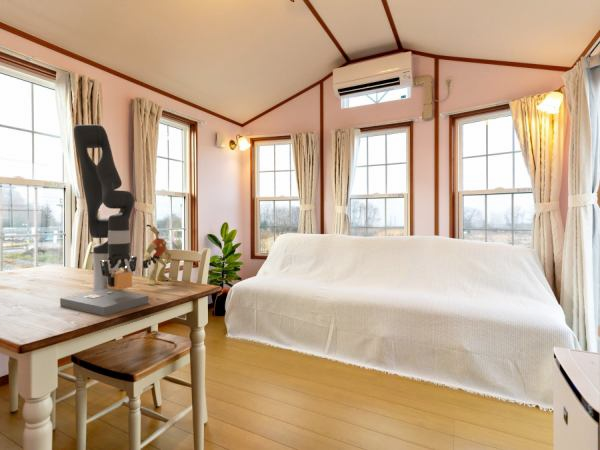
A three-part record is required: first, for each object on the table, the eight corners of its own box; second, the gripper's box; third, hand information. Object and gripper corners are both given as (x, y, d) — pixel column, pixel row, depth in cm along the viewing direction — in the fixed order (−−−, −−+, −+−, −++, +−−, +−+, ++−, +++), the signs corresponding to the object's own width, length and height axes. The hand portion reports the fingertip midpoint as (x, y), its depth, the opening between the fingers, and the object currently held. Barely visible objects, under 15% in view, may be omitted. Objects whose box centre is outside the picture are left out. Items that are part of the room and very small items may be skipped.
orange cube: (121, 285, 129) (121, 270, 129) (131, 286, 127) (131, 271, 126) (107, 288, 124) (107, 272, 123) (117, 290, 121) (117, 274, 121)
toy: (149, 288, 152) (149, 225, 150) (133, 288, 153) (132, 225, 152) (176, 279, 174) (176, 224, 173) (161, 278, 176) (161, 223, 175)
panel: (106, 295, 139) (106, 287, 139) (148, 303, 128) (148, 294, 128) (60, 306, 123) (60, 296, 122) (103, 315, 111) (103, 305, 111)
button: (96, 302, 127) (96, 295, 127) (101, 303, 125) (101, 296, 125) (88, 304, 124) (88, 296, 124) (93, 305, 122) (93, 297, 122)
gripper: (129, 239, 132) (129, 280, 133) (94, 243, 119) (95, 287, 120) (141, 240, 129) (142, 282, 130) (107, 244, 116) (108, 290, 117)
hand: (119, 284), depth 125 cm, fingers closed on orange cube, 6 cm apart
